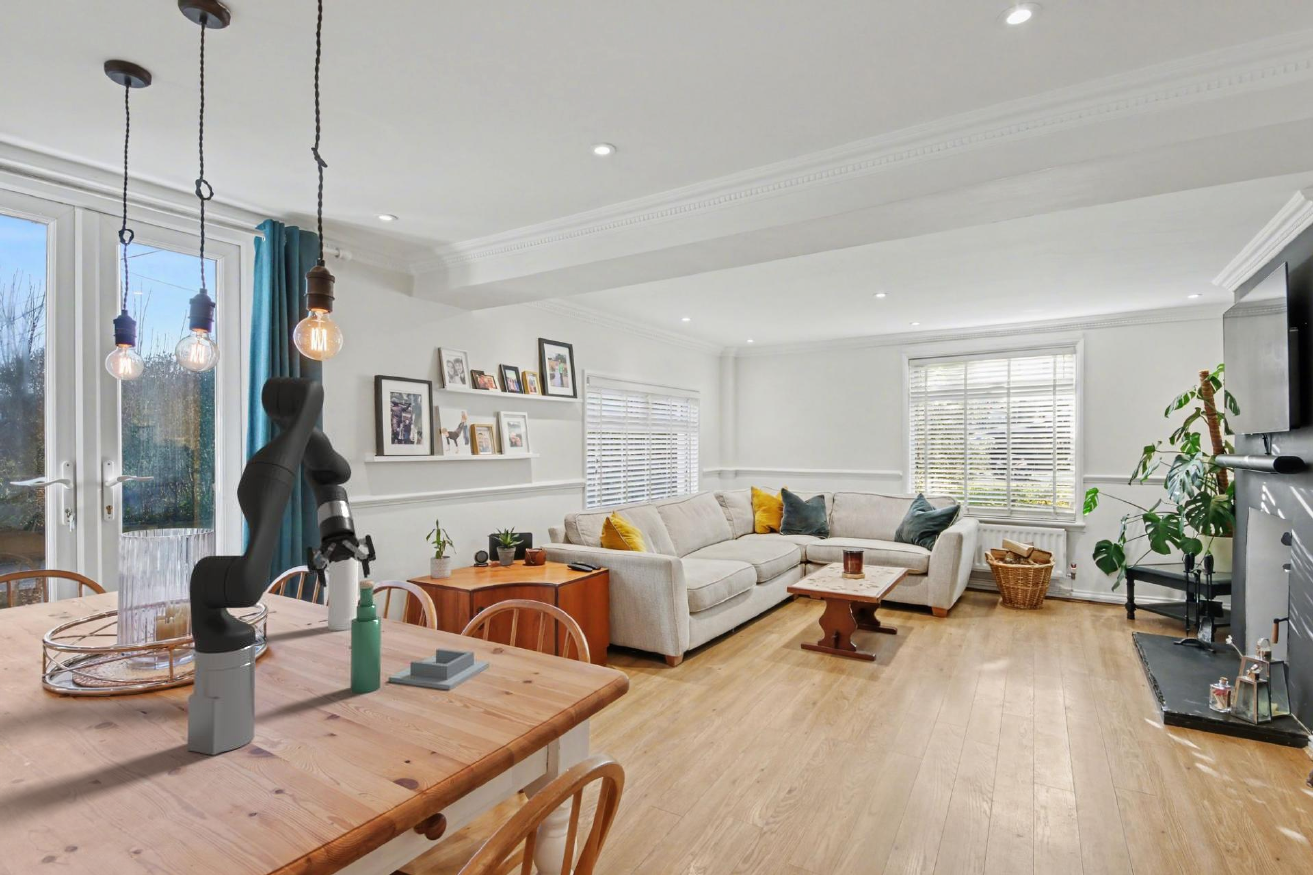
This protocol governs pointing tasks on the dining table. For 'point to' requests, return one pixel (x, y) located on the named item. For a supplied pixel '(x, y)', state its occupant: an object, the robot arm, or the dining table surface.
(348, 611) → the bottle
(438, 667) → the bottle rest
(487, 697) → the dining table surface
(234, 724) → the robot arm
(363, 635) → the bottle
